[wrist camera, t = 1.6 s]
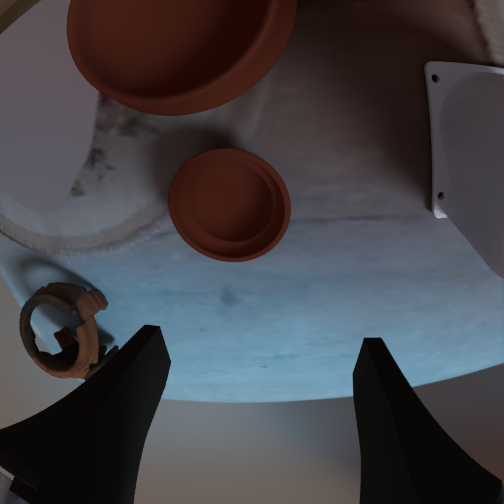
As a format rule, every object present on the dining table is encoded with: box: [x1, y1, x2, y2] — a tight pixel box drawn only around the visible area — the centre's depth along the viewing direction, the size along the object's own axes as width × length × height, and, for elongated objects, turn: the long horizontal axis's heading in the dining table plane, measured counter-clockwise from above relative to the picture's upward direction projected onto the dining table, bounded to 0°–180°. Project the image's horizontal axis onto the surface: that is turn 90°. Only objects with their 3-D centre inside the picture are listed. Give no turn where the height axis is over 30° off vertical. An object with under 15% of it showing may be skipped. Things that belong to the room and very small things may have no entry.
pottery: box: [67, 0, 297, 262], centre depth 13 cm, size 12×20×4 cm, turn 14°
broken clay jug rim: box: [19, 282, 119, 380], centre depth 24 cm, size 12×10×8 cm
